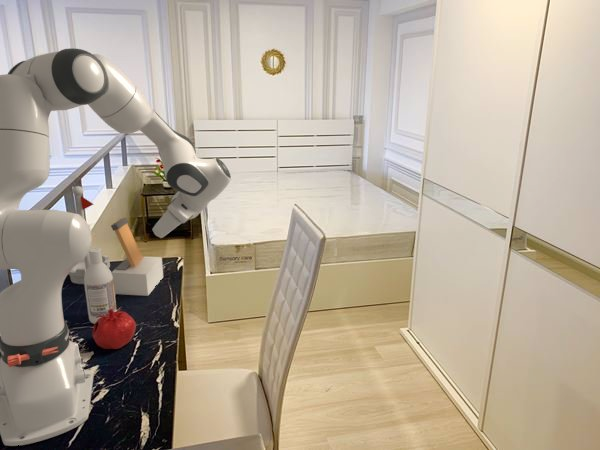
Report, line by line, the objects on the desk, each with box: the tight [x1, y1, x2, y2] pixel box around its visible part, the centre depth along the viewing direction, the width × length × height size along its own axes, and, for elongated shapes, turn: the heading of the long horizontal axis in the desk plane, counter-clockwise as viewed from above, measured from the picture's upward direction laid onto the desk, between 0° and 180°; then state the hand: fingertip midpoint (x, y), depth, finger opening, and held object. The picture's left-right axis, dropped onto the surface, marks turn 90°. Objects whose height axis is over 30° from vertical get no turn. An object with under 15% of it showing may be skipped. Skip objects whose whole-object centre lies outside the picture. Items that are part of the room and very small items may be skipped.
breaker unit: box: [111, 255, 164, 297], centre depth 141 cm, size 10×13×8 cm
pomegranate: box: [91, 308, 137, 350], centre depth 111 cm, size 10×10×9 cm
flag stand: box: [67, 185, 111, 285], centre depth 142 cm, size 13×13×30 cm
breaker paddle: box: [110, 217, 144, 267], centre depth 138 cm, size 2×6×14 cm, turn 176°
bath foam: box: [83, 247, 118, 324], centre depth 119 cm, size 7×7×20 cm
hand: (157, 233), depth 136 cm, fingers closed
